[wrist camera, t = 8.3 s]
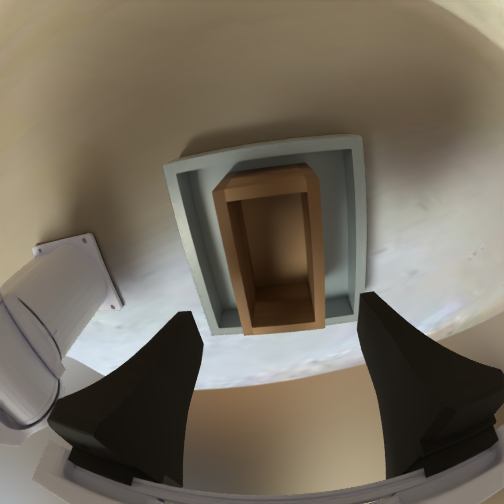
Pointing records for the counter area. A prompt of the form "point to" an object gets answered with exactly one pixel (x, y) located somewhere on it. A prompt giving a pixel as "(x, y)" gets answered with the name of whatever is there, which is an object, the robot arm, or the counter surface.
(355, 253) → the grey crate
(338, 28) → the counter surface
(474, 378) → the robot arm
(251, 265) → the walnut crate
